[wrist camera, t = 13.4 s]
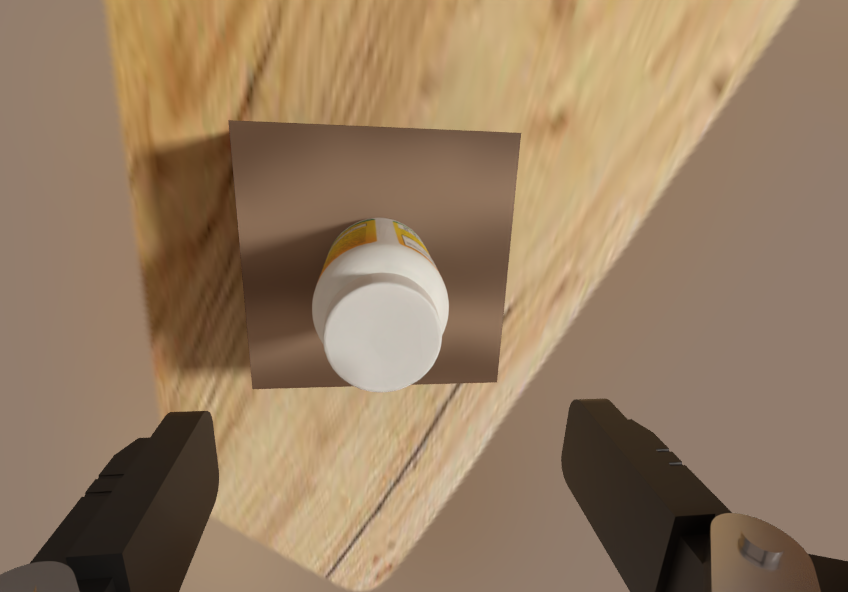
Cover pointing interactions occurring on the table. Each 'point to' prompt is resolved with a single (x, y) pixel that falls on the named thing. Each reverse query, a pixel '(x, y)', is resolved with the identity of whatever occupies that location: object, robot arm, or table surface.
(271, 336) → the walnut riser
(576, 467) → the robot arm
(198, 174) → the table surface
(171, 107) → the table surface
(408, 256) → the supplement bottle
